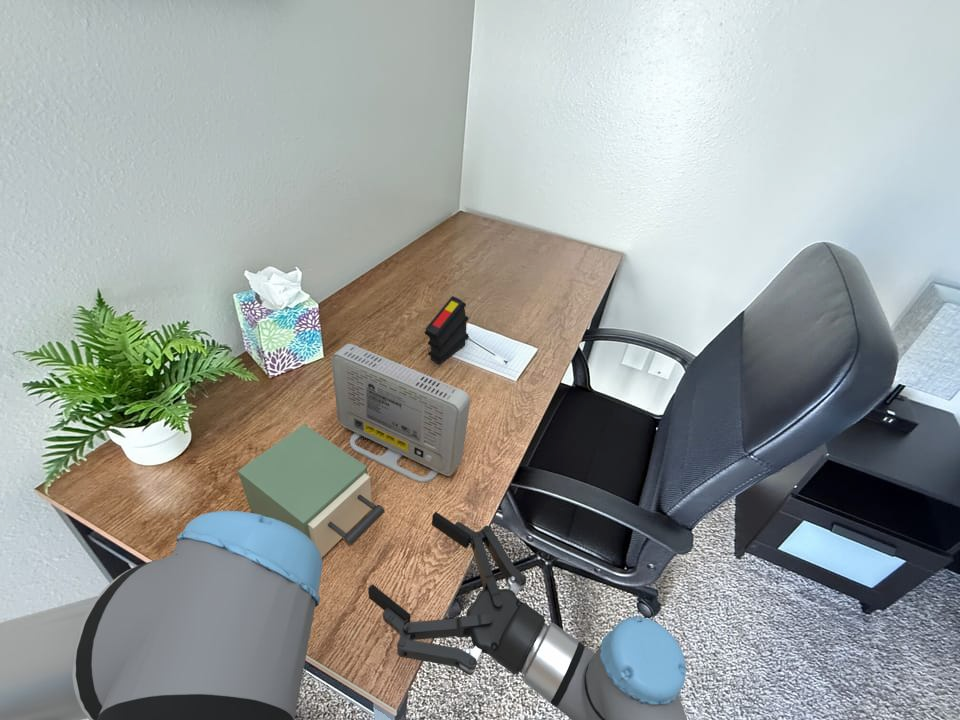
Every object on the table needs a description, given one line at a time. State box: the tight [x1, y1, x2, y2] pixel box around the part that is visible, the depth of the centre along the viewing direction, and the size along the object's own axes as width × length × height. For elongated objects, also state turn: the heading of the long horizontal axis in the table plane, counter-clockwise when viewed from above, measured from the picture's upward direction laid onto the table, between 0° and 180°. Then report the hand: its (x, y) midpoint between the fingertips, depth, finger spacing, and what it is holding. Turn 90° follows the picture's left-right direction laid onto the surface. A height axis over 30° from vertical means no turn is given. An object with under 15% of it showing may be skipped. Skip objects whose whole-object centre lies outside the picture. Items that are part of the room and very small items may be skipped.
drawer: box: [308, 473, 386, 559], centre depth 74 cm, size 18×11×9 cm, turn 57°
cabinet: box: [237, 423, 369, 539], centre depth 75 cm, size 15×13×11 cm
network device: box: [330, 343, 471, 484], centre depth 84 cm, size 26×9×20 cm, turn 65°
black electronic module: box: [424, 295, 469, 365], centre depth 112 cm, size 4×13×15 cm, turn 146°
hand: (404, 551), depth 66 cm, fingers open, 13 cm apart
